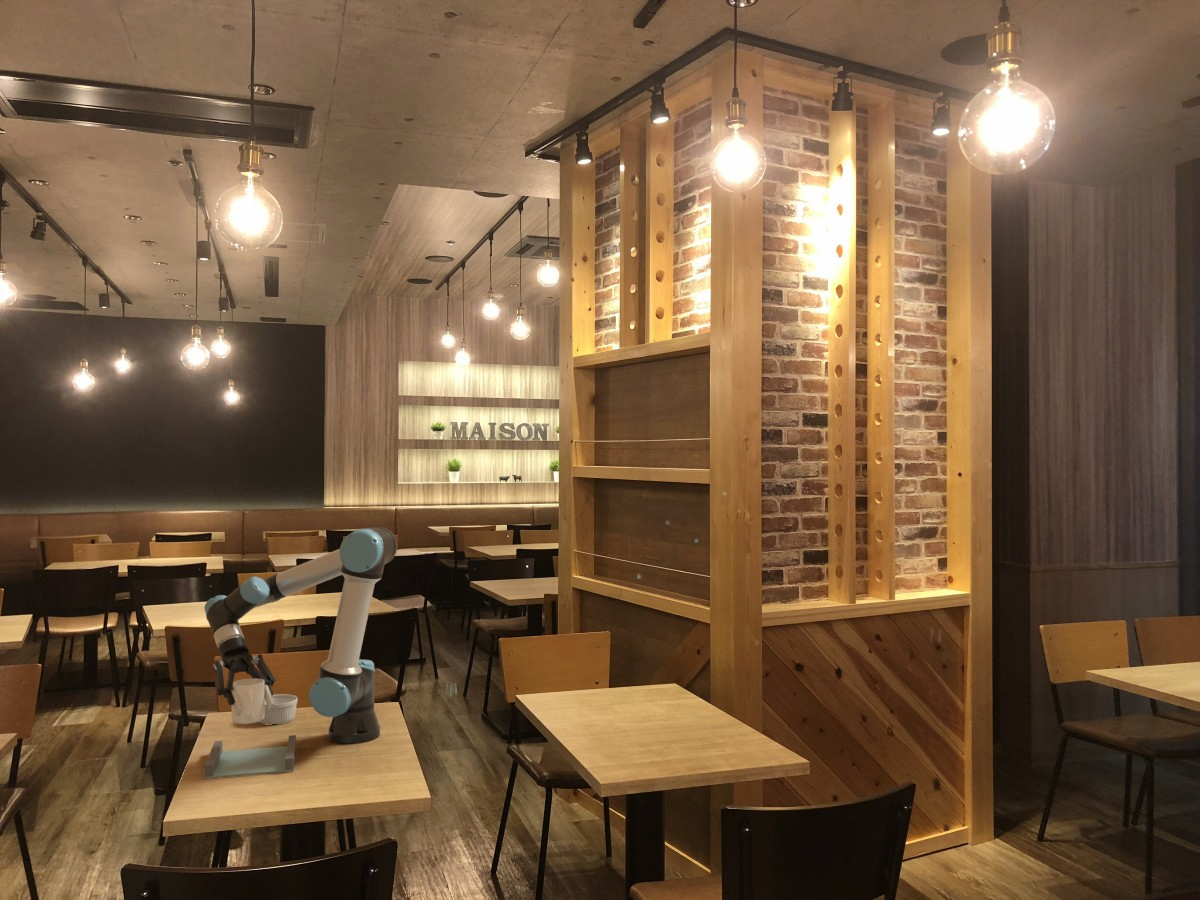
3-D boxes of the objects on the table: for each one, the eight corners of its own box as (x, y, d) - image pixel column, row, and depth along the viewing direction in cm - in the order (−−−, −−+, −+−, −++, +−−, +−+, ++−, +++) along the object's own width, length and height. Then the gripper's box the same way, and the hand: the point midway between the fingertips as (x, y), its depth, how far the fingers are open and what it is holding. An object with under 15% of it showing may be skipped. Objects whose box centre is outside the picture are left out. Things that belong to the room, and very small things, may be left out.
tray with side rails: (214, 754, 264) (214, 741, 264) (296, 747, 270) (296, 735, 270) (204, 779, 242) (204, 765, 242) (293, 771, 249) (293, 758, 249)
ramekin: (253, 728, 289) (254, 706, 290) (253, 717, 302) (253, 696, 302) (298, 724, 294) (298, 702, 294) (296, 713, 306) (296, 692, 307)
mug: (233, 729, 250) (234, 689, 250) (230, 718, 261) (230, 680, 261) (267, 725, 254) (267, 686, 254) (262, 714, 265) (262, 676, 265)
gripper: (263, 646, 277) (287, 710, 265) (190, 657, 262) (212, 725, 250) (271, 631, 273) (296, 695, 261) (197, 641, 258) (221, 709, 246)
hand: (255, 710), depth 256 cm, fingers closed on mug, 8 cm apart
